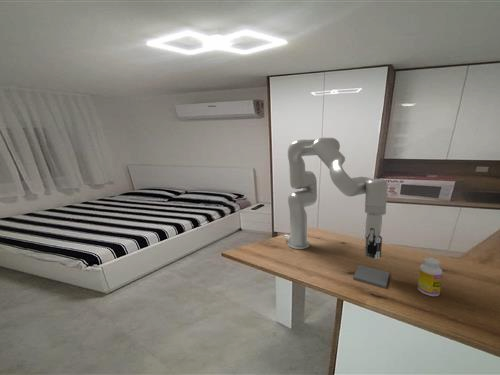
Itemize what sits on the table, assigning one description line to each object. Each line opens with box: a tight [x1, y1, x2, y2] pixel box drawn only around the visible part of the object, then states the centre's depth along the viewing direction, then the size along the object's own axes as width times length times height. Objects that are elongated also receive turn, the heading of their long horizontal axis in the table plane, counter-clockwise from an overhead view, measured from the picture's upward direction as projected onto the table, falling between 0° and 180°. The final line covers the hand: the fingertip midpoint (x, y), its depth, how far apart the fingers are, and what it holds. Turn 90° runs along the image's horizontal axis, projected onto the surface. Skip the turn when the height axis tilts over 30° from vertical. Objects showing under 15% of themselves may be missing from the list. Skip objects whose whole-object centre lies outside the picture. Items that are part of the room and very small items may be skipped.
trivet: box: [353, 264, 390, 289], centre depth 98 cm, size 12×12×1 cm
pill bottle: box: [364, 234, 383, 260], centre depth 95 cm, size 6×6×11 cm
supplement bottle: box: [417, 257, 443, 297], centre depth 86 cm, size 7×7×13 cm
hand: (373, 250), depth 96 cm, fingers closed on pill bottle, 6 cm apart
